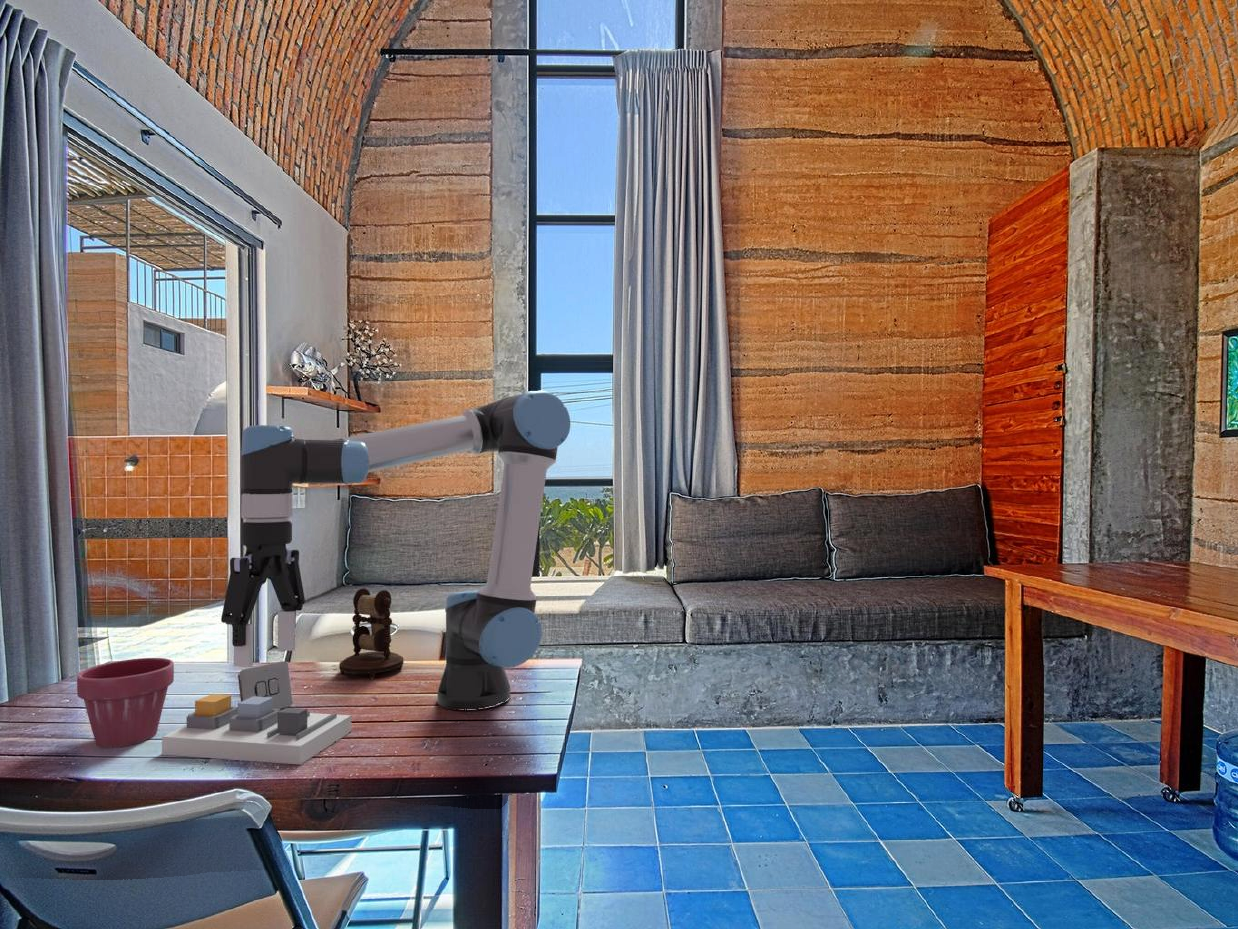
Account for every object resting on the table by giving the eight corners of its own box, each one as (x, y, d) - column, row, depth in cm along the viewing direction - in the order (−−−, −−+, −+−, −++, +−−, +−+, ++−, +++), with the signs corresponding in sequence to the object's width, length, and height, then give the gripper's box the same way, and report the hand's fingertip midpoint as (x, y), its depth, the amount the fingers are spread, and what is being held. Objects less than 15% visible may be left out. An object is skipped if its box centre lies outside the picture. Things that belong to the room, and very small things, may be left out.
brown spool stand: (416, 667, 173) (416, 586, 173) (372, 683, 160) (373, 595, 160) (370, 661, 179) (371, 583, 180) (325, 676, 166) (325, 591, 166)
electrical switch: (246, 719, 136) (244, 670, 137) (234, 716, 139) (233, 668, 140) (293, 707, 143) (291, 661, 144) (281, 704, 146) (280, 659, 147)
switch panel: (351, 731, 128) (351, 704, 128) (300, 764, 114) (300, 733, 114) (226, 724, 133) (226, 697, 133) (161, 754, 118) (162, 724, 118)
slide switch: (307, 729, 120) (307, 708, 120) (298, 734, 118) (298, 713, 118) (286, 728, 121) (286, 707, 121) (277, 733, 119) (277, 712, 119)
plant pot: (64, 759, 116) (65, 682, 117) (89, 731, 129) (90, 662, 129) (165, 745, 122) (165, 672, 122) (179, 720, 135) (180, 654, 135)
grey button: (273, 712, 125) (273, 697, 125) (257, 719, 121) (258, 704, 121) (253, 710, 126) (253, 696, 126) (237, 718, 122) (237, 703, 122)
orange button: (231, 709, 127) (231, 695, 127) (214, 716, 123) (215, 702, 123) (211, 708, 127) (211, 694, 127) (194, 715, 123) (195, 701, 123)
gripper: (289, 516, 125) (288, 641, 125) (193, 524, 103) (191, 675, 103) (327, 516, 124) (326, 642, 123) (238, 524, 102) (237, 678, 101)
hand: (265, 657), depth 113 cm, fingers open, 10 cm apart
